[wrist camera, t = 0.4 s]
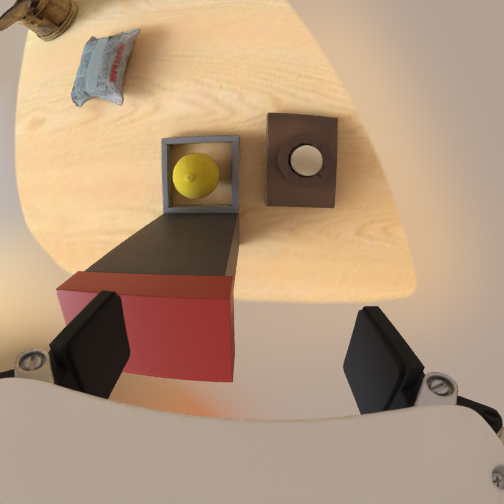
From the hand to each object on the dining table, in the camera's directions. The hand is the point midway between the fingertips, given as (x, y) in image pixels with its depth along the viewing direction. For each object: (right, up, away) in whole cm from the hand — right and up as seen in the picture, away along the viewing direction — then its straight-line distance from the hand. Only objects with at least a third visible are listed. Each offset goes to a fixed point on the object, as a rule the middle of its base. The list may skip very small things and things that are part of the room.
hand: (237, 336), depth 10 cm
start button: (+7, +14, +22) cm, 27 cm away
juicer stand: (-6, +11, +27) cm, 30 cm away
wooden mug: (-33, +42, +16) cm, 56 cm away
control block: (+7, +15, +25) cm, 31 cm away
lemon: (-6, +14, +26) cm, 30 cm away
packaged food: (-20, +30, +21) cm, 41 cm away
